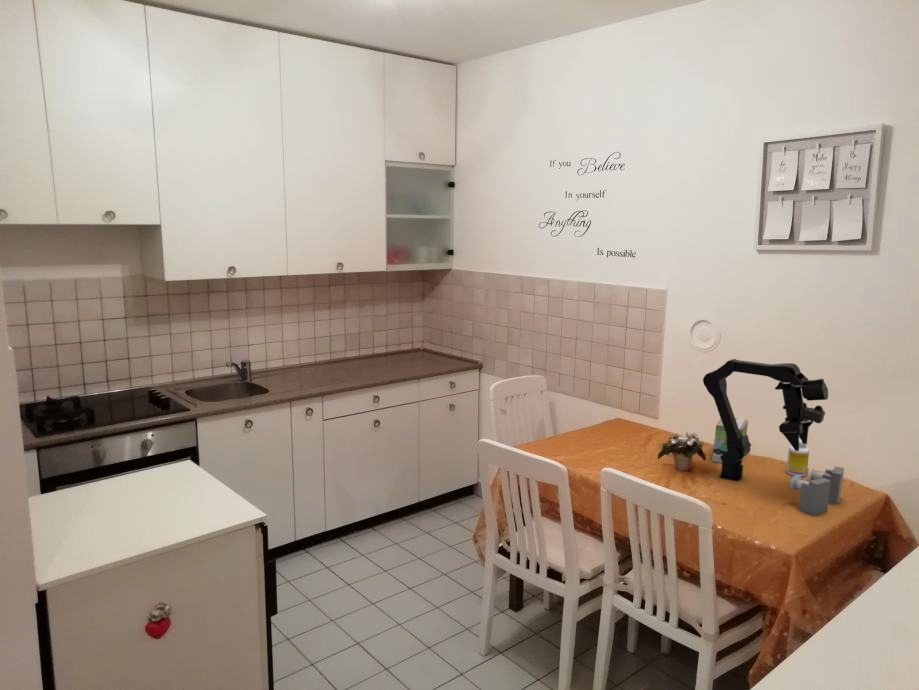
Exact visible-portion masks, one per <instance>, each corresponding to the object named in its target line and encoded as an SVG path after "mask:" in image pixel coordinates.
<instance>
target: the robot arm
mask: <svg viewBox="0 0 919 690" xmlns="http://www.w3.org/2000/svg"><path fill="white" fill-rule="evenodd" d="M734 372H735V373H742V374H747V375H748V374H749V375H756V376H761V377H762V376H763V377H768V378H771V379H773V380H775V381H778V384H777V385H776V386H775V387H774V389H775V390H781V392H782V398H783V403H784V405H783V406H782V410H784V411H785V416H786V417H785V418H784V421H782V423H780V425H779V426H778V429H779V433H781V434H782V435H783V436H784V437H785V439H786V440H787V441H788V443H789V444H790V446H791V445H792V447H793V448H794V449H795V451H799V439H801V441H802V443H803V444H807V445H808V436H809V428H810V427H811V426H812V425H813V424H814V423H816V424H821V423H822V422H824V417H825V415H826V412H825V410H824V408H823V406H821V405H818V404H817V405H815V406H814V407H808V404H807V403H806V402H804V400H806V401H809V402H810V401H823V400H826V401H827V400H828V399H829V389H828V387H827V384H826V382H825V379H824V378H818V379H809V378H808V377H806V375H804V374H803V373H802V372H801V369H800V367H799V366H798V364H796V363H793V362H792V363H789V362H788V363H787V362H786V363H785V362H784V363H783V362H782V363H772V364H771V363H762V362H754V361H746V360H740V359H739V360H738V359H736V358H733V359H729V360H727V361H726V362H725V363H724V364H723V365H721V366H720V367H718V368H717V369H715V370H713V371H710V372H708V373H706V374H705V375H704V376H703V378H702V383H703V385H704V387H705V389H706V391H707V392H708V394H709V395H711V397H712V398H713V401H714V403H715V407H716V409H717V412H718V415H719V417H720V419H721V420H722V423H723V426H724V429H725V432H726V435H727V443H726V445H727V452H726V453H724V454H723V455H721V456H720V457H721V461H722V463H721V471H720V472H721V473H720V475H719V478H722V479H726V480H733V481H736V482H737V481H738V482H739V481H740V480H741V479H742V478H743V475H744V465H743V459H744V458H745V457H746V456H748V455H749V454H750V452H751V447H752V444H751V442H750V440H749V436H748V434H747V435H745V436H743V435H742V434H741V432H740V431H739V428H738V425H737V422H736V419H735V418H736V417H735V414H734V412H733V408H732V405H731V403H730V400H729V397H728V393H727V392H728V391H727V390H728V389H727V388H728V384H727V378H728V377H730V376H731V375H732V374H733V373H734ZM741 459H742V460H741Z"/></svg>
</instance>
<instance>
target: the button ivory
mask: <svg viewBox="0 0 919 690" xmlns="http://www.w3.org/2000/svg"><path fill="white" fill-rule="evenodd" d="M823 474H827V473H825V472H823V471H818V470H814V467H811V466H810V467H808V469H807V475H806V476H807V477H806V480H807V482H809V481H812V480H817V479H820V478H822V476H823ZM827 475H830V474H827Z"/></svg>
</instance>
